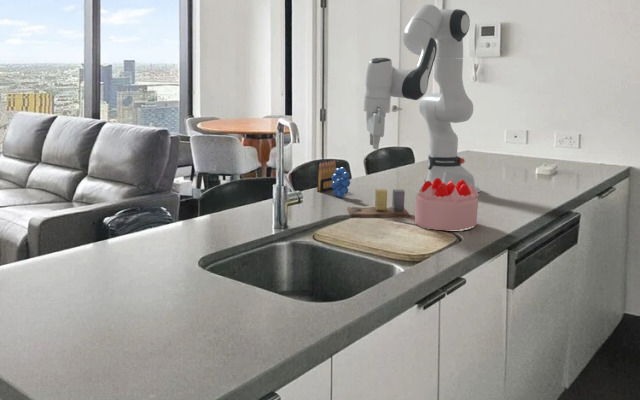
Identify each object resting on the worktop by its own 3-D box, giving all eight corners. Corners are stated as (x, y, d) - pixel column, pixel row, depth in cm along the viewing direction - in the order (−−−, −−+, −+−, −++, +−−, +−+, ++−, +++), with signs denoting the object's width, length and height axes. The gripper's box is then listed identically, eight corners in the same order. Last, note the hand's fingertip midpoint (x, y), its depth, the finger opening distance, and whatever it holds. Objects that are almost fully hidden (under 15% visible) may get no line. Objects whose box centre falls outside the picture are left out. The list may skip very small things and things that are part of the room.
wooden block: (385, 208, 226) (385, 189, 225) (386, 210, 223) (387, 191, 221) (375, 208, 226) (375, 189, 225) (376, 210, 223) (377, 191, 221)
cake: (413, 216, 220) (415, 175, 217) (473, 218, 219) (475, 177, 216) (416, 231, 201) (418, 186, 198) (481, 233, 200) (484, 188, 197)
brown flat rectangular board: (403, 209, 230) (403, 206, 230) (409, 216, 220) (409, 213, 219) (347, 209, 229) (347, 206, 229) (350, 217, 219) (350, 213, 218)
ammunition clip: (320, 192, 259) (320, 162, 257) (317, 191, 260) (317, 162, 258) (337, 188, 267) (337, 159, 265) (333, 188, 268) (334, 159, 266)
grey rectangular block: (402, 209, 227) (402, 189, 225) (403, 211, 223) (404, 191, 222) (392, 209, 226) (392, 189, 225) (393, 211, 223) (394, 191, 221)
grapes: (358, 199, 247) (358, 168, 245) (343, 200, 244) (343, 169, 241) (341, 193, 257) (342, 163, 254) (327, 195, 254) (327, 164, 251)
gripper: (390, 109, 210) (387, 151, 213) (382, 104, 230) (379, 143, 233) (371, 108, 210) (368, 150, 213) (364, 103, 230) (361, 142, 233)
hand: (373, 147), depth 223 cm, fingers open, 8 cm apart
